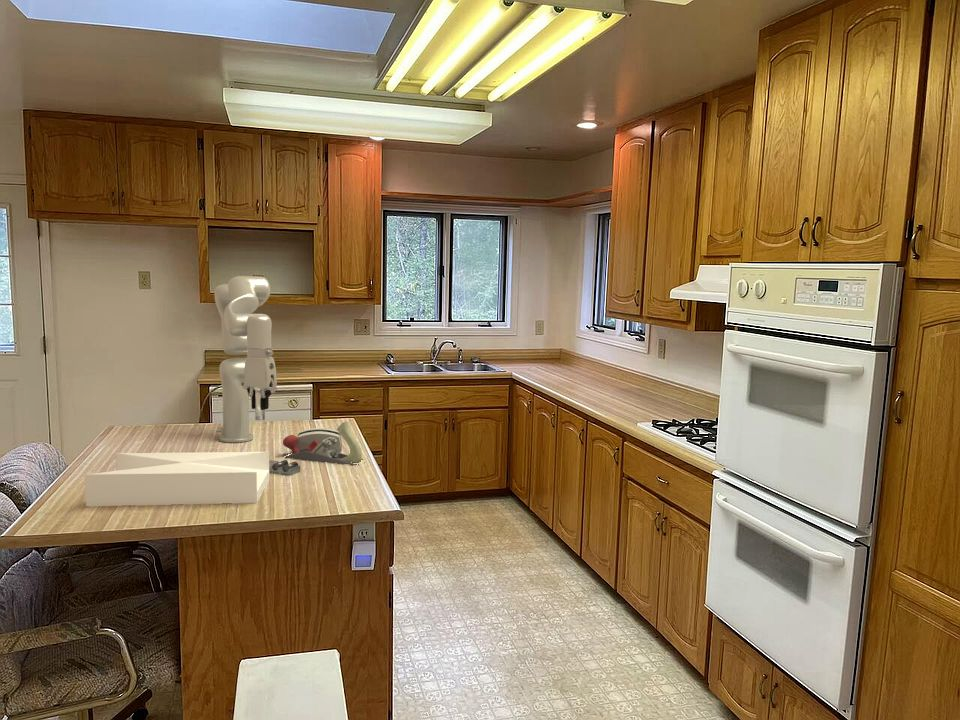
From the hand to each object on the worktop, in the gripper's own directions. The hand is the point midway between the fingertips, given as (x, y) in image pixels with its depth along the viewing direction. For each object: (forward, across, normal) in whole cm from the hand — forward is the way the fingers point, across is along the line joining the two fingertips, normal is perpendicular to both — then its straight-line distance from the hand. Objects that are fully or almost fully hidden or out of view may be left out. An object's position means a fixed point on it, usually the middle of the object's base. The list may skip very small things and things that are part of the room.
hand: (260, 408), depth 222 cm
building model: (+21, +3, +30) cm, 37 cm away
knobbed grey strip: (+20, +2, 0) cm, 20 cm away
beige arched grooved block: (+20, -4, -27) cm, 34 cm away
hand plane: (+21, -12, -19) cm, 30 cm away
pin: (+4, 0, 0) cm, 4 cm away
